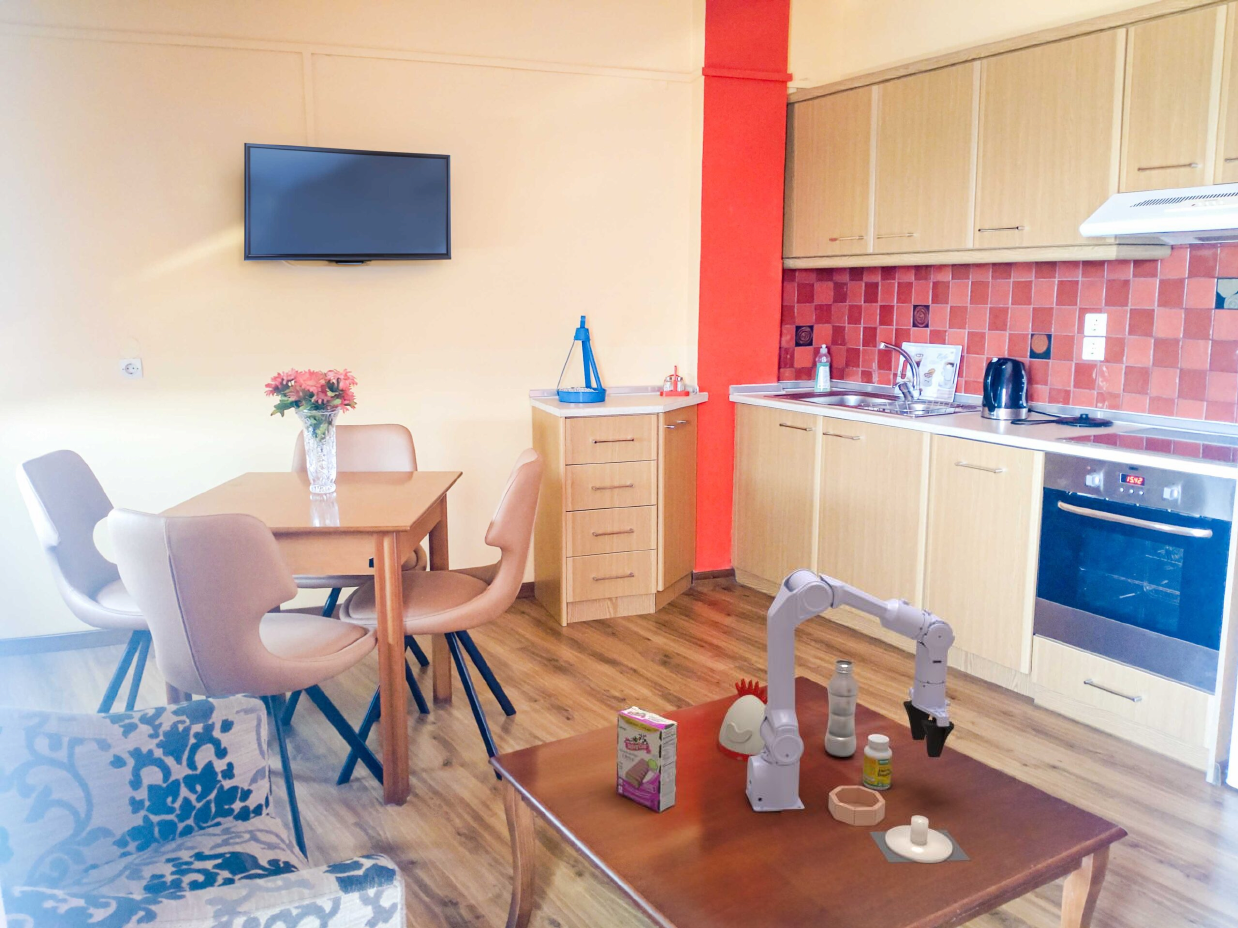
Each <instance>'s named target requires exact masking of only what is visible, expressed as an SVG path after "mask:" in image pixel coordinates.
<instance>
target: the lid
mask: <svg viewBox="0 0 1238 928" xmlns="http://www.w3.org/2000/svg"><path fill="white" fill-rule="evenodd" d="M910 820H911V821H910V822H911V823H910V825H909V824H908V825H898V826H894V827H892V828H890V829H889V830H887V831H888V832H887V833H886V836H885V843H886V845H887V847H888V848H889V849H890V850H891V851H892V852H893V853H895V854H896V855H898V856H900V857H903V858H905V859H908V860H911V861H916V862H915V863H922V864H936V863H942V862H945V861H944V860H946V859H948V858H949V857H950V856H951V855H952V843H951V842H950V840H949V839H948V838H947V837H945V836H944V835H943V834H941V833H939V832H937V831H935V830H936V829H932V828H929V823H930V822H929V821H930V820H929V818H928V817H926V816H924V815H919V814H918V815H917V814H916V815H912V816H911V819H910Z"/></svg>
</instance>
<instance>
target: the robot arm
mask: <svg viewBox="0 0 1238 928" xmlns="http://www.w3.org/2000/svg"><path fill="white" fill-rule="evenodd" d="M817 575H818V576H817ZM819 577H820V578H819ZM841 606H848V607H850V608H853V609H856V610H857V611H861V612H863V613H866V614H868V615H871V616H873V617H876V618H878V619H879V621H880V625H881V626H882V627H883V628H884V629H886V630H889V631H891V632H894V633H896V634H898V635H900V636H903V637H906V638H908V639H910V640H913V641H916V642H915V643H916V645H915V647H916V648H915V657H914V658H915V660H914V661H915V662H914V675H913V676H914V677H913V678H914V679H913V687H909V689H908V690H909V691H908V698H910V700H904V701H903V702H902V705H903V707H904V709H905V712H906V714H907V717H908V722H909V727H910V733H911V739H912V740H913V741H926V743H925V744H926V753H927V756H928V757H929V758H941V754H942V753H943V749H944V747H945V743H946V741H947V739H948V737H949V735H950V734H951V733H952V731H953V730H954V729H955V724H954V723H953V722H952V721H951V720H950V715H949V714H948V710H947V707H950V706H951V705H952V704H951V702H950V700H949V699H947V698H946V688H947V674H948V659H949V658H948V657H949V655H948V654H949V649H950V648H951V647H952V646H953V645H954V642H955V640H956V636H955V635H954V633H953V632H954V631H953V628H952V627H951V625H950V624H949V623H948V622H946V621H945V620H944V619H942V618H941V617H939V616H938V615H936V614H934V613H933V612H932V611H930V609H929V610H928V609H924V610H923V609H920V608H918V607H916V606H913V605H910V601H909V600H907V599H906V598H903V597H901V598H900V599H897V598H891V599H888V600H886V601H884V600H882V599H880V598H878V597H875V596H874V595H871V594H870V593H866V592H865V591H863V590H861V589H859V588H857V587H854V586H853V585H850V584H848V583H847V582H844V581H843V580H842V581H841V580H840V579H837V578H834V577H831V576H828V575H826V574H823V573H820V572H819V573H817V574H816V573H815V572H814V571H812V570H810V569H808V568H799V569H796V570H795V571H793V572H791V573H790V574H789V575H788V576H786V577H785V578H784V579H782V582H781V586H780V589H779V590H778V593H777V594H776V596H775V598H774V600H773V602H772V603H771V604H770V607H769V609H768V611H767V615H766V633H767V634H766V652H767V653H766V659H767V660H766V661H767V662H766V664H767V665H766V667H767V669H766V670H767V673H766V674H767V675H766V676H767V678H766V679H767V682H766V683H767V687H766V688H767V697H768V705H767V706H766V707H765V709H764V718H763V720H762V722H761V724H760V728H759V732H760V735H761V737H762V739H763V740H764V742H765V744H764V746H763V748H762V751H761V754H759V755H756V756H751V757H749V759H748V762H747V772H746V773H747V775H746V790H745V794H746V795H747V798H748V800H749V803H750V805H751V807H752V809H753V811H754V812H782V811H783V810H801V809H802V810H803V809H805V806H804V804H803V802H802V801H801V798H800V797H799V786H800V785H799V784H800V765H801V764H800V762H801V761H800V760H801V759H800V758H801V757H802V755H803V753H804V747H805V746H804V742H803V739H802V738H801V736H800V733H799V723H798V718H797V713H796V671H795V669H796V667H795V665H796V658H795V657H796V652H795V650H796V646H795V645H796V643H795V641H796V638H795V634H796V633H795V632H796V628H797V627H798V626H799V625H801V624H802V623H803V622H804V621H807V620H808V619H812V618H814V617H816V616H819V615H820V614H822V613H825V612H826V611H827V610H828V609H829V608H831V609H832V610H835V609H838V608H839V607H841ZM930 716H931V719H930Z"/></svg>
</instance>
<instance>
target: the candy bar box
mask: <svg viewBox="0 0 1238 928" xmlns="http://www.w3.org/2000/svg"><path fill="white" fill-rule="evenodd" d="M616 735H617V745H616V750H617V751H616V794H618V795H620V796H622V797H624V798H627V799H629V800H631V801H633V802H635V803H638V804H640V805H642V806H643V807H644V806H645V807H646V808H648V809H651V810H653V811H655V812H657V813H663V812H664V811H666V810H668V809H669V808H672V807H673V806H675V805H676V793H677V791H676V790H677V786H676V785H677V754H678V753H677V751H678V750H677V747H678V722H676V721H674V720H671V719H669V718H666V717H663V716H661V715H658V714H656V713H653V712H650V711H649V710H648V711H647V710H645V709H642V708H641V707H637V706H635V705H633V706H631V707H628V708H625V709H623V710H620V711H618V712H617V734H616Z"/></svg>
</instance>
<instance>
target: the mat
mask: <svg viewBox="0 0 1238 928" xmlns="http://www.w3.org/2000/svg"><path fill="white" fill-rule="evenodd" d="M934 830H935V831H937V832H939V833H941V834H943V835H944V836H945V837H947V838H948V839H949V840H950V842H951V843H952V855H951V856H950V857H949V858H948V859H946V860H944V861H943V862H962V861H963V862H964V861H968V862H969V861H971V859H970V858H969V856H968V855H967V853H966V852H965V851H964V850H963V849H962V847H961V846H960V845H959V844H958V843H957V841H956V840H955V839H954V838H953V837H952V835H951V834H950V833H949V832H948V830H947V829H934ZM888 831H889V830H886V831H869V832H868V834H869V835H870V837H871V838H872V839H873V841H874V843H876V845H877V847H878V848H879V850H880V852H881V853H882V855H883V856H884V858H885V859H886V861H887V862H888V864H895V863H897V864H898V863H917V862H916V861H911V860H908V859H905V858H903V857H900V856H898V855H896V854H895V853H893V852H892V851H891V850H890V849H889V848H888V847H887V845H886V843H885V836H886V833H887V832H888Z"/></svg>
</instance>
